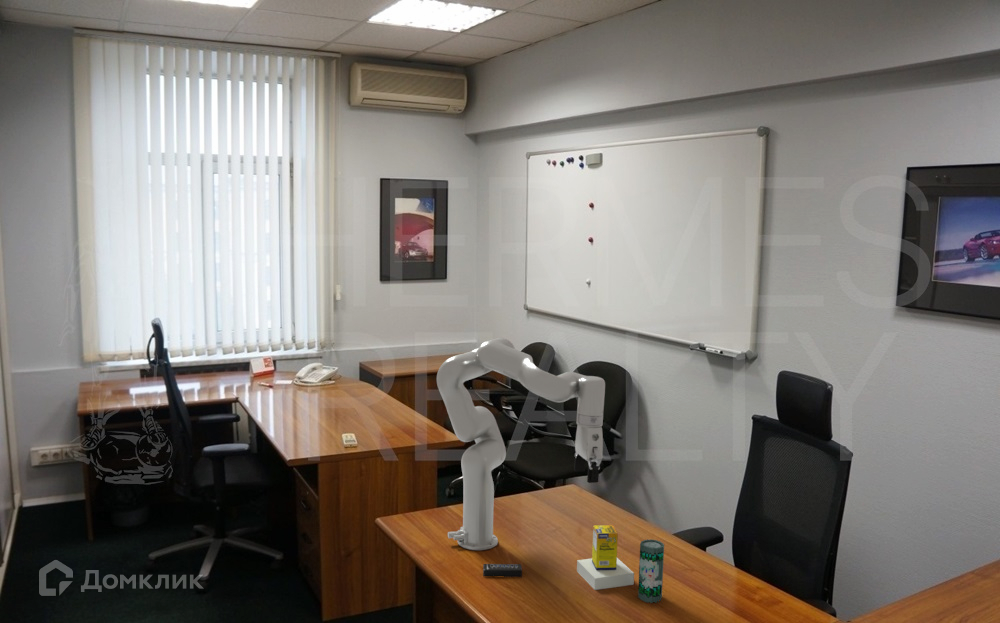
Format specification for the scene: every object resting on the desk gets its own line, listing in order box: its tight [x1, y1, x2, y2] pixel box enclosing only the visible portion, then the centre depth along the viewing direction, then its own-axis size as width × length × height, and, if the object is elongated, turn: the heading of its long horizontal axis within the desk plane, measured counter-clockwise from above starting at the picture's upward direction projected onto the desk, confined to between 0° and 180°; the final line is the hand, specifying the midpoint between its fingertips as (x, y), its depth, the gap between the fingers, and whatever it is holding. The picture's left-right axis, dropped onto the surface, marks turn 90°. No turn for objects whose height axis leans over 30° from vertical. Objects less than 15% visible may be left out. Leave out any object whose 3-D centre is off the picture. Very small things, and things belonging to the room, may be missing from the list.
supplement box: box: [591, 524, 619, 570], centre depth 218 cm, size 6×6×11 cm
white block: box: [576, 557, 635, 591], centre depth 219 cm, size 12×12×4 cm
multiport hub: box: [482, 563, 523, 578], centre depth 220 cm, size 4×11×2 cm, turn 92°
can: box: [637, 538, 665, 604], centre depth 207 cm, size 6×6×15 cm
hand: (585, 476), depth 223 cm, fingers open, 9 cm apart
